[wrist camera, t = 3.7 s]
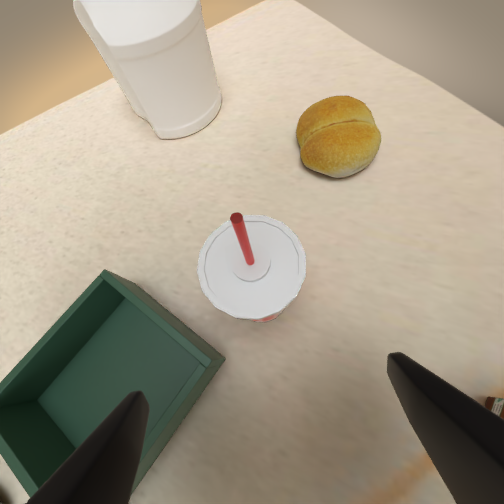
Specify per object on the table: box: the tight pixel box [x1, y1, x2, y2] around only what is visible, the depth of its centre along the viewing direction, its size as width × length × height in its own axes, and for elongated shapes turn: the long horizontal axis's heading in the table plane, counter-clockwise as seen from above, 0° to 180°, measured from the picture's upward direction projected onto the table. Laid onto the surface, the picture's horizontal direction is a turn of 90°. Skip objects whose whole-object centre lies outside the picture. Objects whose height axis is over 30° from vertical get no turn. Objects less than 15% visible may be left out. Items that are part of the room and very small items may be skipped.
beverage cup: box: [197, 213, 306, 322], centre depth 16 cm, size 6×6×14 cm
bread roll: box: [296, 96, 381, 178], centre depth 25 cm, size 8×9×4 cm
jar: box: [73, 0, 222, 139], centre depth 25 cm, size 12×10×15 cm
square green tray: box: [0, 270, 226, 498], centre depth 19 cm, size 12×11×4 cm
